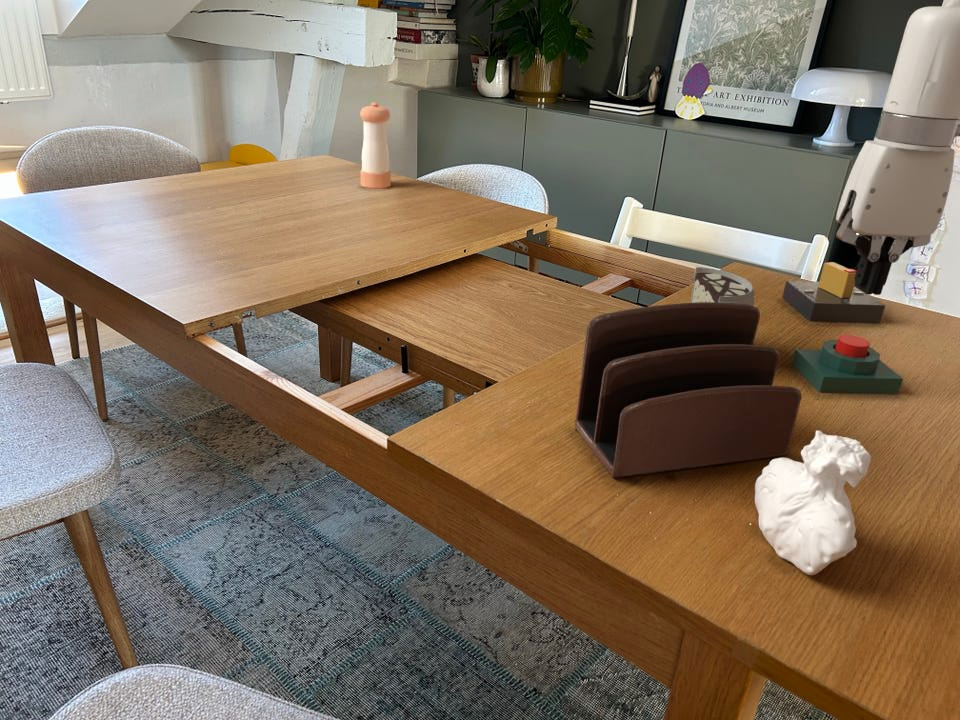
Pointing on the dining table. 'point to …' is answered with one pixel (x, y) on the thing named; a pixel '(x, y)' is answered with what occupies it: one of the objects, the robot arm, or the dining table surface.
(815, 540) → the white tied bag
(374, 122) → the salt shaker
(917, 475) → the dining table surface
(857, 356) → the button
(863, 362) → the button box
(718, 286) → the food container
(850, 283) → the knob
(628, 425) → the letter holder
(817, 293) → the panel
